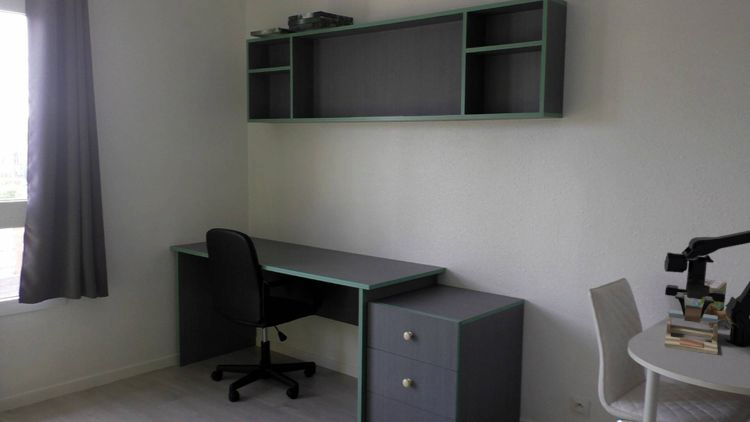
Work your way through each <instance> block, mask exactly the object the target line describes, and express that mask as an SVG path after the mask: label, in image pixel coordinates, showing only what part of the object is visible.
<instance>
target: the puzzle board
mask: <svg viewBox="0 0 750 422" xmlns="http://www.w3.org/2000/svg"><path fill="white" fill-rule="evenodd" d="M672 318H673V317H667V324H666V331H665V338H664V346H665V347H664V348H673V349H677V350H678V349H679V350H685V351H690V352H695V353H696V352H697V353H704V354H711V355H716V356H717V355H718V352H719V351H718V335H719V333H718V332H719V329H718V323H717V324H716V323H714V325H713V327H712V329H707V328H706V329H705V328H699V327H694V326H693V327H692V326H687V325H686V326H684V325H678V324H672ZM672 333H673V334H680V335H688V336H694V337H701V338H707V339H711V342H708V341H703V340H699V339H694V338H686V337H676V336H675V337H674V336H672Z"/></svg>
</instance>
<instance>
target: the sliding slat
mask: <svg viewBox="0 0 750 422" xmlns="http://www.w3.org/2000/svg"><path fill="white" fill-rule="evenodd" d="M668 317H672V318H674V319H680V320H681V319H682V320H684V319H685V316H683V312H682V310H676V309H669V310H668ZM668 317H667V318H668ZM700 321H702V322H709V323H716V324H717V325H718V323H719V322H718V317H717V316H714V315H707V314H704V315H703V317H702V319H701V320H700ZM717 322H718V323H717Z"/></svg>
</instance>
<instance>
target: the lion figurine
mask: <svg viewBox="0 0 750 422" xmlns="http://www.w3.org/2000/svg"><path fill="white" fill-rule="evenodd" d="M702 306H703V303H702V304H700V307H701V310H702ZM704 314H707V315H714V316H717V317H718V320H719V322H720V321H725V320H727V323H728V325H725V326H724V327H725V328H726V329H729V328H731V326H732V324H733V323H732V322H731V319H730V318H729V317H728V316H727V315H726V312H725V311H719V310H717V309H716V308H715V307H713V306H711V305H710V304H709V306H708V307H707V309H706V310H705V313H704ZM713 325H714V323H709V324H706V326H708V328H712V329H713Z"/></svg>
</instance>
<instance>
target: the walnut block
mask: <svg viewBox="0 0 750 422" xmlns="http://www.w3.org/2000/svg"><path fill="white" fill-rule="evenodd" d="M683 320H684V321H685V322H691V323H698V324H699V323H701V322H700V320H701V307H697V306H691V304H690V305H687V304H685V319H683Z"/></svg>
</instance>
